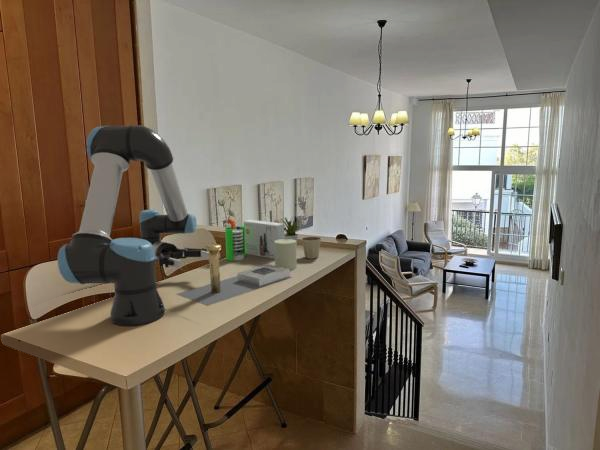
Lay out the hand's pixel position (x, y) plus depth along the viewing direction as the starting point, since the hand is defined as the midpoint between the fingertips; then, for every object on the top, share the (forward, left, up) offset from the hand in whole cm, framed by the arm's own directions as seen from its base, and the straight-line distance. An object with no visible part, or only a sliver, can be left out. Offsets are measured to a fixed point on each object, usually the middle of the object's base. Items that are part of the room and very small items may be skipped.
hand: (196, 260), depth 156 cm
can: (+38, -7, -10) cm, 40 cm away
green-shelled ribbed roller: (+36, +23, -10) cm, 44 cm away
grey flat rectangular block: (+21, -12, -9) cm, 26 cm away
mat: (+9, -10, -10) cm, 17 cm away
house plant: (+68, +20, -10) cm, 71 cm away
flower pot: (+59, -3, -10) cm, 60 cm away
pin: (0, -10, -9) cm, 14 cm away
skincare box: (+48, +16, -10) cm, 51 cm away
